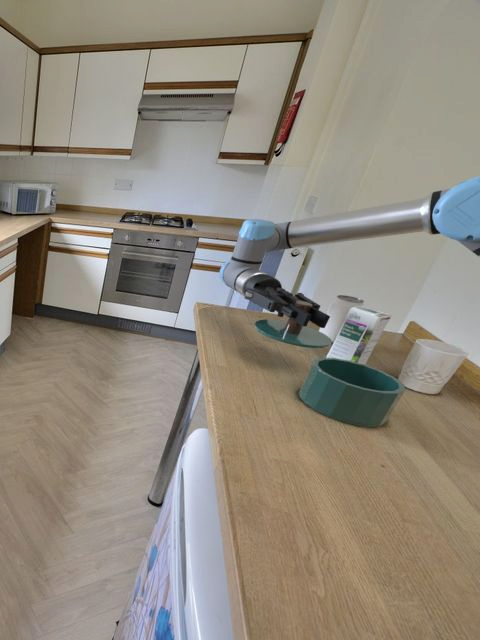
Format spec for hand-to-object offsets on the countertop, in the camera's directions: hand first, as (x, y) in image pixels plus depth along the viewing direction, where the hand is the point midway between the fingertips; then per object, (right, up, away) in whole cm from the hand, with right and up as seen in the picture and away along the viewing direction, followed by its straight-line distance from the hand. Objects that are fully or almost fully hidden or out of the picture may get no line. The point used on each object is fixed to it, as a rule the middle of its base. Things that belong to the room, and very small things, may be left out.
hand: (316, 321), depth 87 cm
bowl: (+1, -17, -4) cm, 18 cm away
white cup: (+27, -15, +5) cm, 31 cm away
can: (+27, -4, +27) cm, 39 cm away
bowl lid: (0, -3, +7) cm, 8 cm away
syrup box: (+17, -10, +12) cm, 23 cm away
